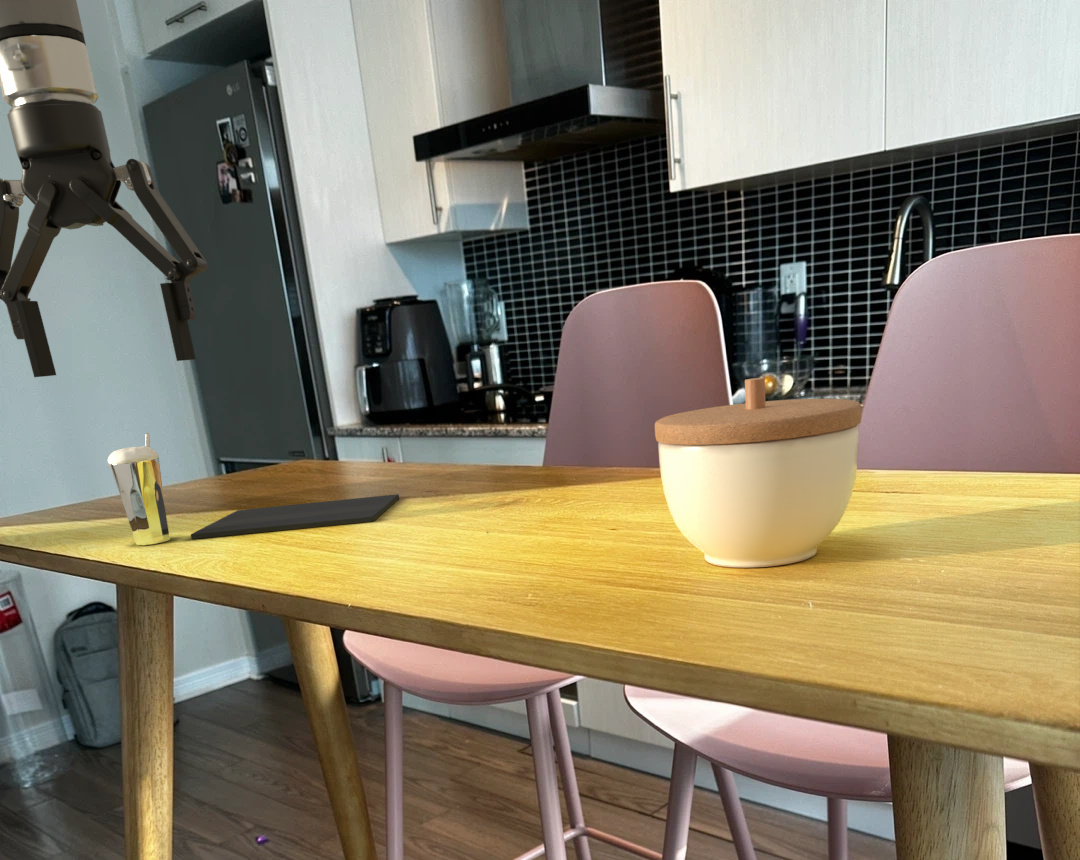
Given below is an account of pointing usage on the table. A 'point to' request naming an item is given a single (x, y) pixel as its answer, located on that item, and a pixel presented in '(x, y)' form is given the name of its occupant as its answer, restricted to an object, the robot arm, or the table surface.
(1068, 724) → the table surface
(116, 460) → the milkshake
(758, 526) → the lidded bowl
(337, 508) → the mat
